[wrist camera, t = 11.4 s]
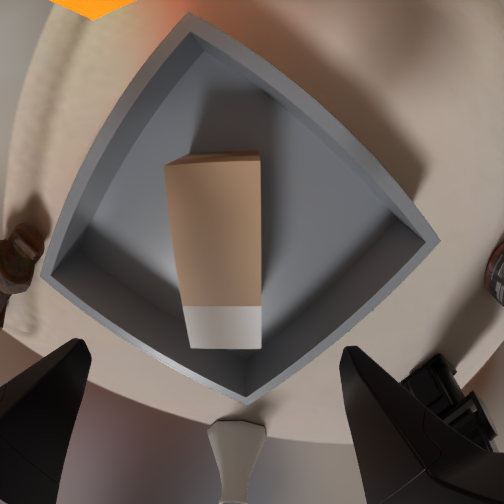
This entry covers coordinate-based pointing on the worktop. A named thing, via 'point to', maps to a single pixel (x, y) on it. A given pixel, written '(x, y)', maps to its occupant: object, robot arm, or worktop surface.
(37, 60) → the worktop surface
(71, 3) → the orange juice
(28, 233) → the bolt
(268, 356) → the bin
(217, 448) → the flask
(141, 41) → the worktop surface
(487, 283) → the supplement bottle
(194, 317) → the tan rectangular block
